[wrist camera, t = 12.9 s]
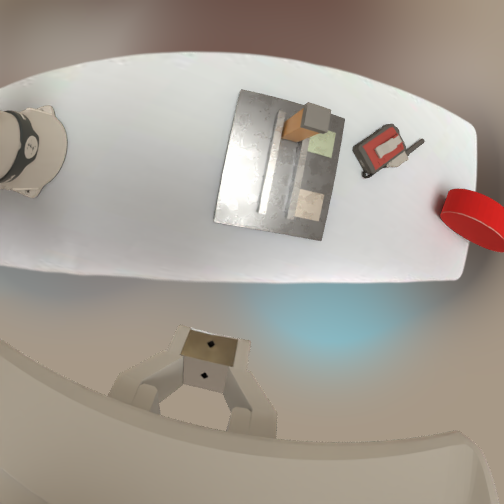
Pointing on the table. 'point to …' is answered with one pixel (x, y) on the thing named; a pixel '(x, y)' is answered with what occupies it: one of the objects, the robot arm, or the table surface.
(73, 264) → the table surface
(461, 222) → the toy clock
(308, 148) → the grey metal board
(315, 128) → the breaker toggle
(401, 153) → the walkie-talkie
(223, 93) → the table surface
